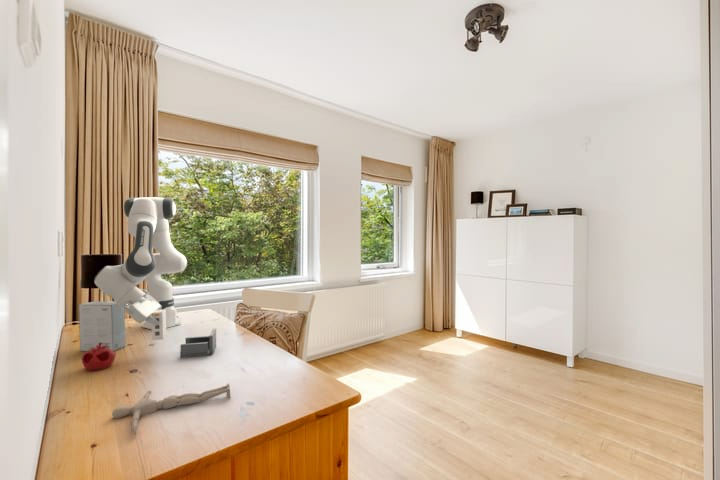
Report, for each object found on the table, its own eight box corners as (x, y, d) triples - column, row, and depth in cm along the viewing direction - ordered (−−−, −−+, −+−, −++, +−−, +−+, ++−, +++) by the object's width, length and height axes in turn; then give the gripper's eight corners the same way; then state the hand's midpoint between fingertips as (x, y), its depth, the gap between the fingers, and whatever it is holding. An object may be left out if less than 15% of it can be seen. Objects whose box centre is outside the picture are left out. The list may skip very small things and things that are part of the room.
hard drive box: (126, 346, 155) (125, 301, 154) (112, 352, 147) (111, 305, 147) (94, 345, 156) (93, 300, 156) (78, 351, 149) (77, 304, 148)
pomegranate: (90, 364, 134) (89, 340, 134) (120, 361, 137) (119, 337, 137) (76, 374, 125) (75, 347, 125) (108, 370, 127) (108, 345, 127)
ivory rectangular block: (155, 336, 145) (155, 309, 145) (166, 335, 146) (165, 309, 146) (151, 340, 141) (151, 312, 140) (163, 339, 142) (162, 312, 141)
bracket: (186, 348, 151) (186, 330, 151) (216, 346, 154) (216, 328, 154) (180, 357, 140) (180, 337, 140) (212, 354, 143) (212, 335, 143)
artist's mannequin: (227, 381, 120) (123, 402, 108) (227, 369, 120) (123, 388, 108) (233, 419, 95) (98, 451, 83) (232, 403, 94) (97, 432, 82)
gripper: (129, 299, 131) (159, 323, 134) (147, 289, 151) (172, 310, 154) (115, 311, 130) (146, 335, 133) (135, 300, 150) (161, 321, 153)
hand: (160, 322), depth 143 cm, fingers closed on ivory rectangular block, 5 cm apart
